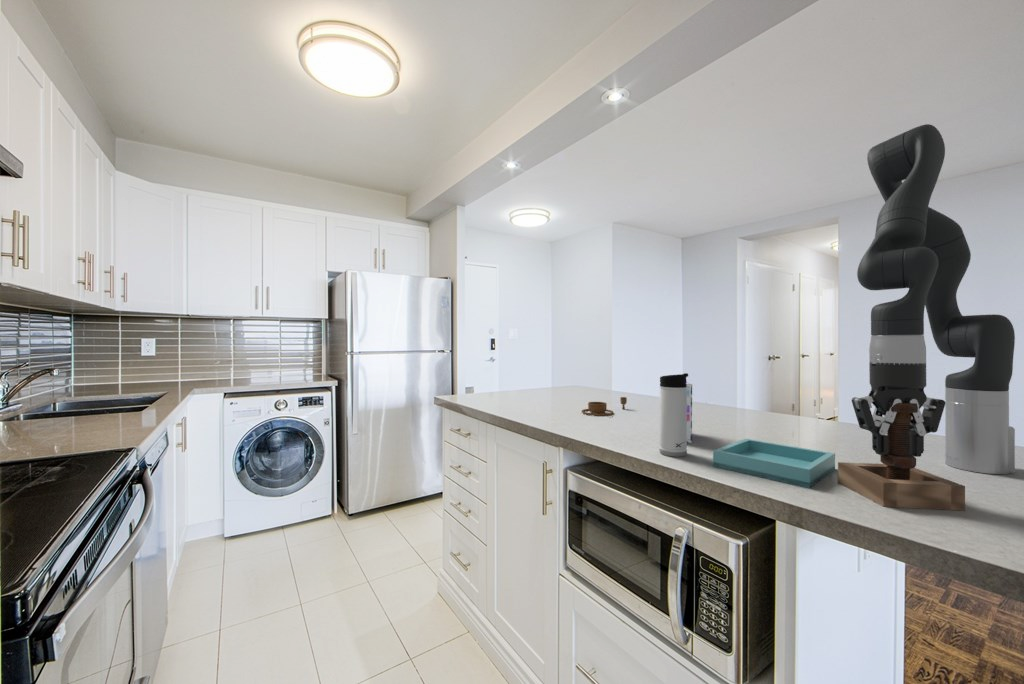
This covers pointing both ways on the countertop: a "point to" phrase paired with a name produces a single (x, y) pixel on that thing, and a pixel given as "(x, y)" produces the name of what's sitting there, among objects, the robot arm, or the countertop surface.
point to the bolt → (900, 443)
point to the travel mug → (673, 415)
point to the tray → (775, 461)
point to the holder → (902, 487)
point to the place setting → (601, 408)
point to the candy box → (689, 412)
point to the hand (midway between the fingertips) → (897, 454)
